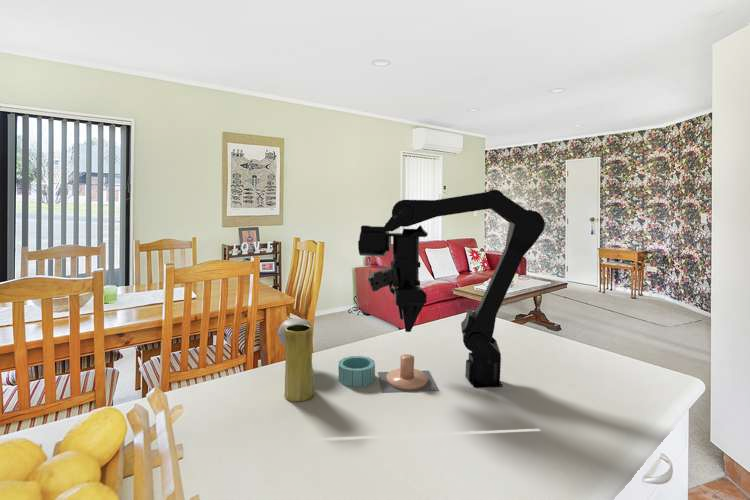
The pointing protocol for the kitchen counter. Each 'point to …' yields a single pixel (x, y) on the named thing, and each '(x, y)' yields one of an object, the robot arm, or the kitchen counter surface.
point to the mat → (387, 389)
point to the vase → (298, 363)
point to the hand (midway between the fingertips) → (405, 325)
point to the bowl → (356, 371)
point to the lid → (407, 375)
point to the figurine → (287, 323)
